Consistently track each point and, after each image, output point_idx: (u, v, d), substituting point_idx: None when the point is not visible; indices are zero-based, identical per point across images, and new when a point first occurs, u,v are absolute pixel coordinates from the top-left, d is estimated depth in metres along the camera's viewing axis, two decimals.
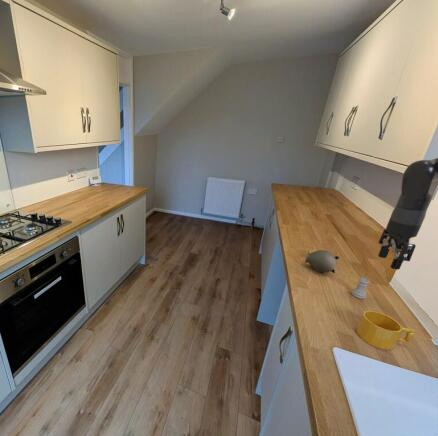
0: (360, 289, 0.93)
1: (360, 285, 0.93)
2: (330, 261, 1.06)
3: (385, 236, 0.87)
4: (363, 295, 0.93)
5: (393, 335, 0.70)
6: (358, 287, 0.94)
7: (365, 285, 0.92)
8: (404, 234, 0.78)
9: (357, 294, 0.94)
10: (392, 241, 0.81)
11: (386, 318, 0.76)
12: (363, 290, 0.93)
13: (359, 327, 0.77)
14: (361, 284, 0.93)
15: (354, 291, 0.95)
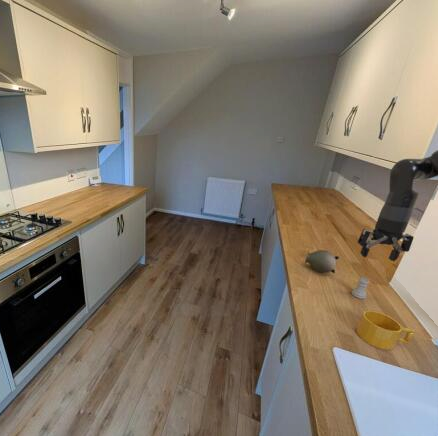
0: (360, 289, 0.93)
1: (360, 285, 0.93)
2: (330, 261, 1.06)
3: (403, 240, 0.84)
4: (363, 295, 0.93)
5: (393, 335, 0.70)
6: (358, 287, 0.94)
7: (365, 285, 0.92)
8: (376, 225, 0.86)
9: (357, 294, 0.94)
10: None
11: (386, 318, 0.76)
12: (363, 290, 0.93)
13: (359, 327, 0.77)
14: (361, 284, 0.93)
15: (354, 291, 0.95)
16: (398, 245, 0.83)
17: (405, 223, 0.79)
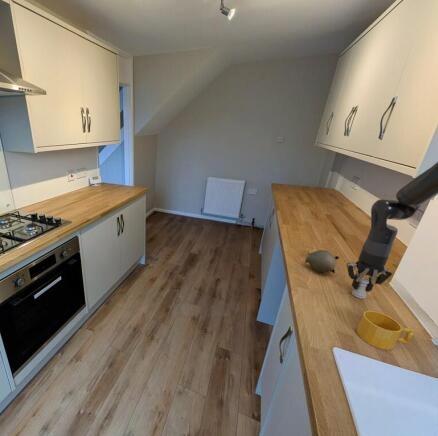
0: (360, 288, 0.93)
1: (360, 285, 0.93)
2: (330, 261, 1.06)
3: (381, 274, 0.91)
4: (363, 295, 0.93)
5: (393, 335, 0.70)
6: (358, 287, 0.94)
7: (365, 285, 0.92)
8: (359, 257, 0.92)
9: (357, 294, 0.94)
10: None
11: (386, 318, 0.76)
12: (363, 290, 0.93)
13: (359, 327, 0.77)
14: (361, 284, 0.93)
15: (354, 291, 0.95)
16: (375, 278, 0.90)
17: (385, 258, 0.85)
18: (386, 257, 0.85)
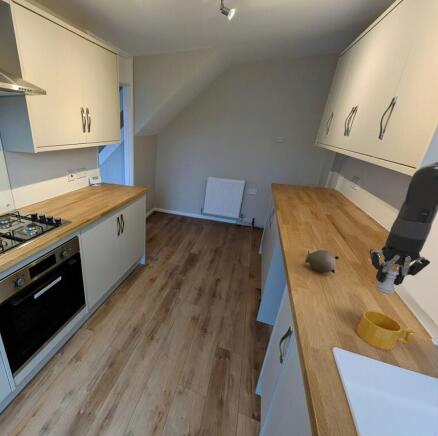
0: (387, 281, 0.75)
1: (387, 277, 0.75)
2: (330, 261, 1.06)
3: (415, 263, 0.72)
4: (391, 289, 0.74)
5: (393, 335, 0.70)
6: (384, 279, 0.75)
7: (394, 277, 0.74)
8: (386, 241, 0.73)
9: (383, 288, 0.75)
10: None
11: (386, 318, 0.76)
12: (391, 283, 0.74)
13: (359, 327, 0.77)
14: (388, 275, 0.74)
15: (379, 284, 0.76)
16: (407, 267, 0.71)
17: (422, 241, 0.67)
18: (423, 240, 0.67)
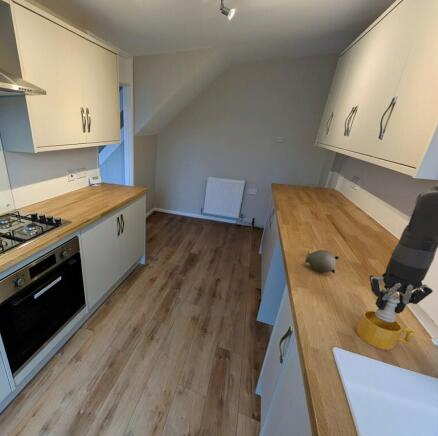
0: (388, 309, 0.71)
1: (387, 304, 0.71)
2: (330, 261, 1.06)
3: (417, 291, 0.68)
4: (392, 318, 0.70)
5: (393, 335, 0.70)
6: (385, 307, 0.71)
7: (394, 305, 0.70)
8: (387, 268, 0.69)
9: (383, 316, 0.71)
10: None
11: None
12: (392, 311, 0.70)
13: (359, 327, 0.77)
14: (389, 303, 0.70)
15: (379, 312, 0.72)
16: (409, 296, 0.67)
17: (425, 270, 0.63)
18: (426, 269, 0.63)
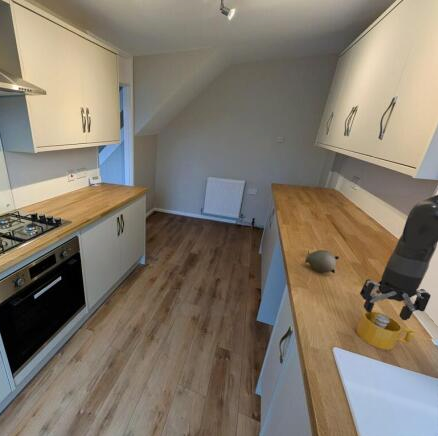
0: None
1: (377, 324, 0.74)
2: (330, 261, 1.06)
3: (418, 297, 0.69)
4: None
5: (393, 335, 0.70)
6: None
7: (384, 324, 0.73)
8: (382, 276, 0.70)
9: None
10: None
11: None
12: None
13: (359, 327, 0.77)
14: (379, 323, 0.73)
15: None
16: (410, 303, 0.68)
17: (419, 279, 0.64)
18: (421, 278, 0.64)
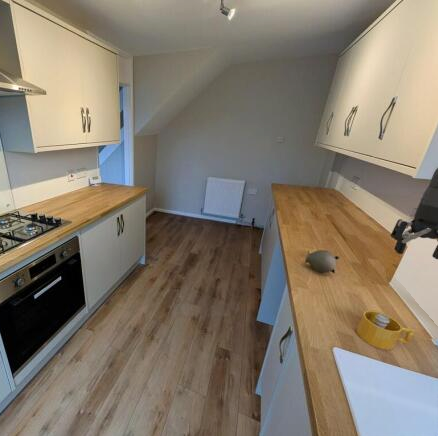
0: None
1: (377, 324, 0.74)
2: (330, 261, 1.06)
3: None
4: None
5: (393, 335, 0.70)
6: None
7: (384, 324, 0.73)
8: (415, 214, 0.68)
9: None
10: None
11: None
12: None
13: (359, 327, 0.77)
14: (379, 323, 0.73)
15: None
16: None
17: None
18: None
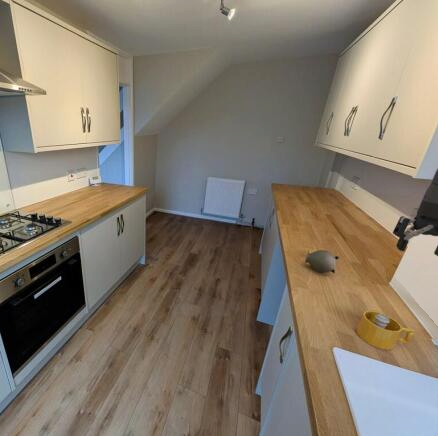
0: None
1: (377, 324, 0.74)
2: (330, 261, 1.06)
3: None
4: None
5: (393, 335, 0.70)
6: None
7: (384, 324, 0.73)
8: (417, 211, 0.69)
9: None
10: None
11: None
12: None
13: (359, 327, 0.77)
14: (379, 323, 0.73)
15: None
16: None
17: None
18: None
